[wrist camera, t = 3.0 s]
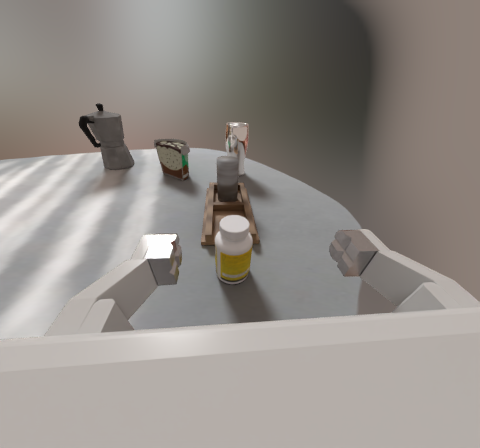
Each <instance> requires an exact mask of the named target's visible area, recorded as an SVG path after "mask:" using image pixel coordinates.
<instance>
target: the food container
mask: <svg viewBox="0 0 480 448" xmlns="http://www.w3.org/2000/svg"><path fill="white" fill-rule="evenodd" d="M154 146H155V147H156V149H157V153H158V157H159V160H160V164H161V167H162V171H163V173H164V174H167V175H169V176H172V177H175V178H177V179H180V180H183V181H184V180H186V179H187V178H188V176H189V171H188V153H189V152H190V149H189V146H188V144H187V142H185V141H183V140H178V139H158V140H154Z"/></svg>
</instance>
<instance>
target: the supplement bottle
mask: <svg viewBox="0 0 480 448" xmlns="http://www.w3.org/2000/svg"><path fill="white" fill-rule="evenodd" d="M249 225H250V224H249V221H248V220H247V219H246V218H244V217H242V216H239V215H229V216H226V217H224V218H223V219H221V221H220V231H219V232H218V233H217V235H216V237H215V260H216V273H217V276H218V277H219V279H220V280H222V281H223V282H225V283H228V284H237V283H240V282H242V281H244V280H245V279H246V278H247V276H248V274H249V269H250V261H251V252H252V244H253V240H252V236H251V234H250V233H249Z"/></svg>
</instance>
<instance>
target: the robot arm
mask: <svg viewBox="0 0 480 448" xmlns="http://www.w3.org/2000/svg"><path fill="white" fill-rule="evenodd" d="M178 244H179V236H178V234H144V235H143V236H142V238H141V240H140V241H139V243H138V245H137V247H136V249H135V251H134V253H133V255H132V257H131V259H130V260H126V261H124V262H123V263H121V264H120V265H119V266H117V267H116V268H114V269H113V270H111V271H110V272H108V273H107V274H106V275H104V276H103V277H101V278H100V279H98V280H97V281H95V282H94V283H93V284H91V285H90V286H88V287H87V288H85V289H84V290H83V291H81V292H80V293H78V294H77V295H75V296H74V297H72V298H71V299H70V300H69V301H68V302H67V303H66V305H65V306H64V308H63V309H62V311H61V312H60V313H59V315H58V316H57V318H56V319H55V321H54V322H53V323H52V325H51V326H50V328H49V329H48V331H47V332H46V333H45V335H44V336H43V337H29V338H15V339H0V448H480V302H479V301H478V300H476V299H475V298H474V297H473V296H471V295H470V294H469V293H468V292H467V291H466V290H464V289H463V288H462V287H461V286H460V285H459V284H457V283H456V282H455V281H454V280H452V279H450V278H448V277H446V276H444V275H442V274H440V273H438V272H436V271H434V270H432V269H429V268H428V267H425V266H423V265H421V264H419V263H417V262H415V261H413V260H411V259H409V258H407V257H405V256H403V255H401V254H399V253H397V252H395V251H390V250H389V249H388V248H387V247H386V246H385V245H384V244H383V243H382V242H381V241H380V240H379V239H378V238H377V237H376V236H375V235H374V234H373V233H372V232H371V231H370V230H367V229H359V230H338V231H337V232H336V234H335V240H334V241H333V242H331V245H330V247H329V252H330V255H331V257H332V259H333V260H335V261H336V262H338V265H337V267H338V268H339V270H340V271H341V273H342V274H343V276H344V277H348V276H360V278H361V279H363V280H364V281H365V282H367V283H368V284H369V285H370V286H372V287H373V288H374V289H376V290H377V291H378V292H379V293H381V294H382V295H383V296H384V297H386V298H387V299H388V300H390V301H391V302H392V303H394V304H395V305H396V306H397V307H396V308H395V309H394V310H393V311H392V313H383V314H368V315H353V316H338V317H324V318H309V319H294V320H279V321H264V322H250V323H235V324H221V325H206V326H191V327H177V328H162V329H147V330H134V329H133V327H132V326H131V324H130V323H129V321H128V320H129V318H130V317H131V316H132V315H133V314H134V313H135V312H136V311H137V310H138V308H139V307H140V306H141V305H142V304H143V303H144V302H145V301H146V299H147V298H148V297H149V296H150V295H151V294H152V293H153V292H154V290H155V289H156V288H157V287H158V286H161V285H174V284H177V280H178V275H179V270H178V267H179V266H180V265H181V261H182V250H181V246H180V245H178Z"/></svg>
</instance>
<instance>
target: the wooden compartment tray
mask: <svg viewBox="0 0 480 448" xmlns="http://www.w3.org/2000/svg"><path fill="white" fill-rule="evenodd" d="M238 171H239V159H238V158H236V157H233V156H221V157H218V158H217V183H210V185H209V188H207V194H206V203H205V212H204V220H203V229H202V238H201V245H215V237H216V235H217V233H218V232H219V231H220V221H221V219H223V218H224V217H226V216H229V215H239V216H242V217H244V218H246V219H247V220H248V221H249V224H250V225H249V233H250V234H251V236H252V240H253V244H259V241H260V240H259V236H258V232H257V229H256V225H255V221H254V217H253V213H252V209H251V205H250V202H249V198H248V194H247V190H246V188H245V186H244V183H238Z"/></svg>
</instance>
